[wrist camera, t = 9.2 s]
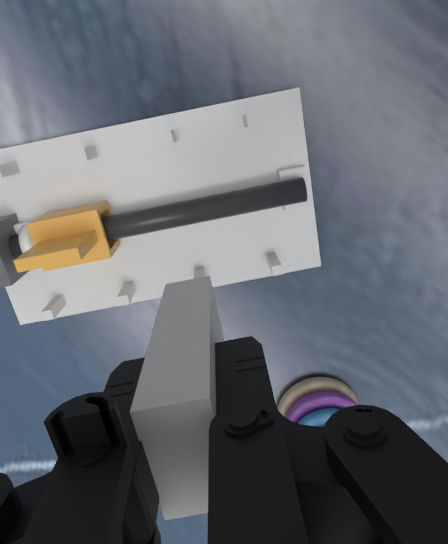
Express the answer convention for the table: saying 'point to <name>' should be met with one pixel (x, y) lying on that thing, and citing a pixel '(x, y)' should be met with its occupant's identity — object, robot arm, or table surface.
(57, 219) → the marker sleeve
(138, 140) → the slider track board
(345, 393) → the stacking toy
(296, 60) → the table surface
